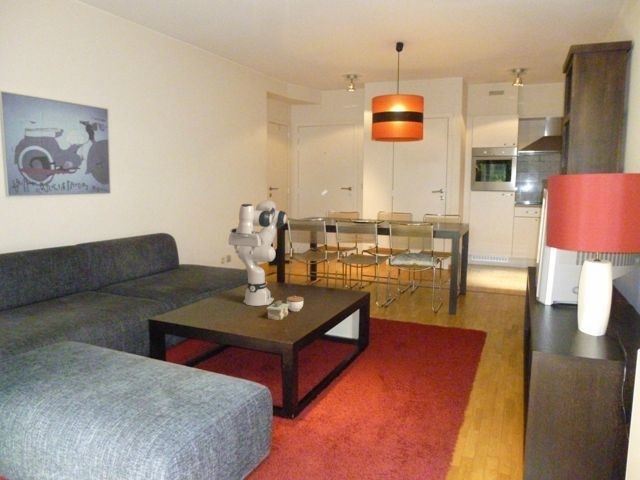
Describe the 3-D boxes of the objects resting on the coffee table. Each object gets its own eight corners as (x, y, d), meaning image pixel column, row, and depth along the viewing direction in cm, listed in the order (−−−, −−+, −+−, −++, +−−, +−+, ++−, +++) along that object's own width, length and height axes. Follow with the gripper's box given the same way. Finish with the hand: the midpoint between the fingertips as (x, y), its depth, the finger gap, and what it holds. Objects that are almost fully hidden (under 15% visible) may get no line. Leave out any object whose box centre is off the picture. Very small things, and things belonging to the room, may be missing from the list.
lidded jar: (306, 309, 314) (306, 295, 313) (297, 313, 305) (297, 298, 304) (292, 307, 319) (292, 293, 318) (283, 310, 310) (283, 296, 309)
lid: (275, 305, 303) (275, 298, 303) (289, 306, 300) (289, 300, 300) (266, 310, 291) (266, 303, 290) (280, 311, 288) (280, 305, 288)
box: (275, 313, 303) (275, 304, 303) (287, 315, 301) (288, 305, 300) (267, 318, 292) (267, 309, 291) (280, 320, 289) (280, 310, 289)
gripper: (263, 231, 297) (261, 254, 297) (233, 229, 303) (231, 252, 304) (258, 231, 291) (257, 255, 291) (228, 229, 297) (226, 252, 298)
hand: (244, 253), depth 297 cm, fingers open, 8 cm apart
